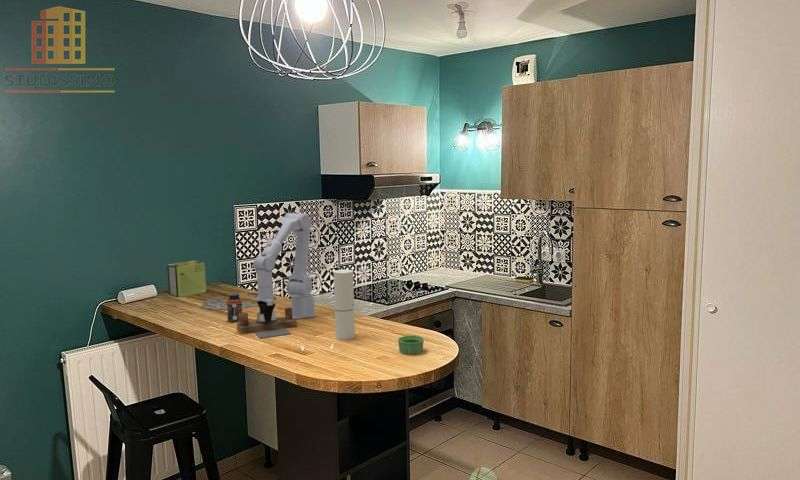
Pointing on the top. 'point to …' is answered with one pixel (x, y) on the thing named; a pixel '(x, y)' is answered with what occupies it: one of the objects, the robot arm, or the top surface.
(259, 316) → the light switch plate
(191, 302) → the top surface
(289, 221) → the robot arm
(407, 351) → the ramekin
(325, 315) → the top surface
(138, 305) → the top surface
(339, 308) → the cylindrical container
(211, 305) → the worn metal disc
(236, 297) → the supplement bottle
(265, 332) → the rubber mat
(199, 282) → the protein box
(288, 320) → the body
